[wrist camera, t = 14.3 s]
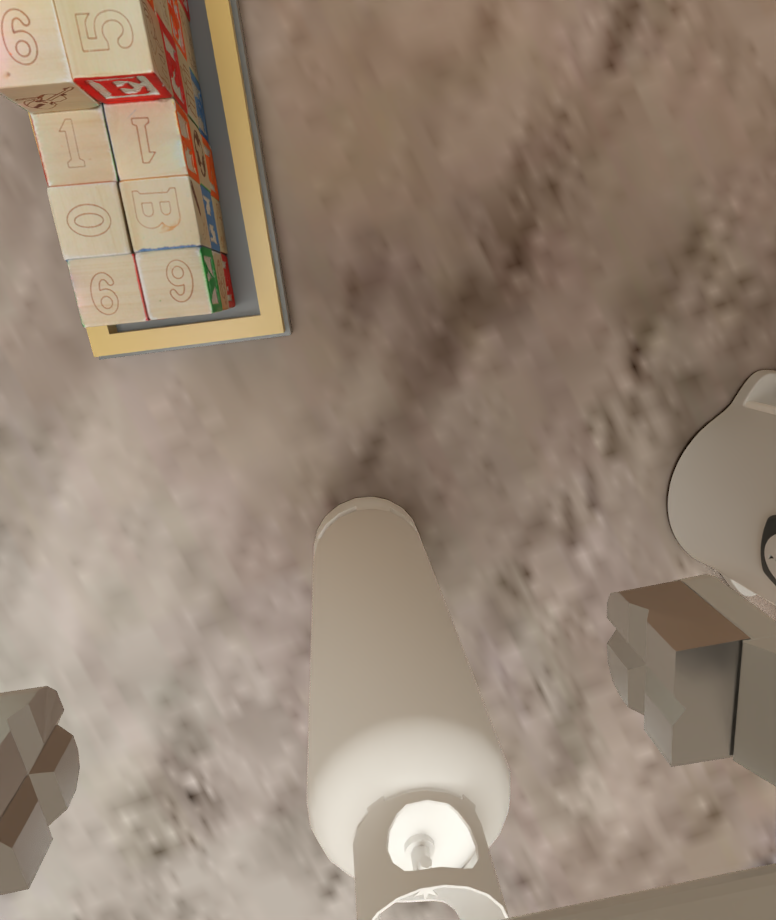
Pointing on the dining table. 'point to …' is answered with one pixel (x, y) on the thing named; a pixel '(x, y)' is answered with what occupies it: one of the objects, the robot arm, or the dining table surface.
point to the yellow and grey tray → (223, 204)
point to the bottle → (398, 724)
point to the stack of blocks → (121, 153)
